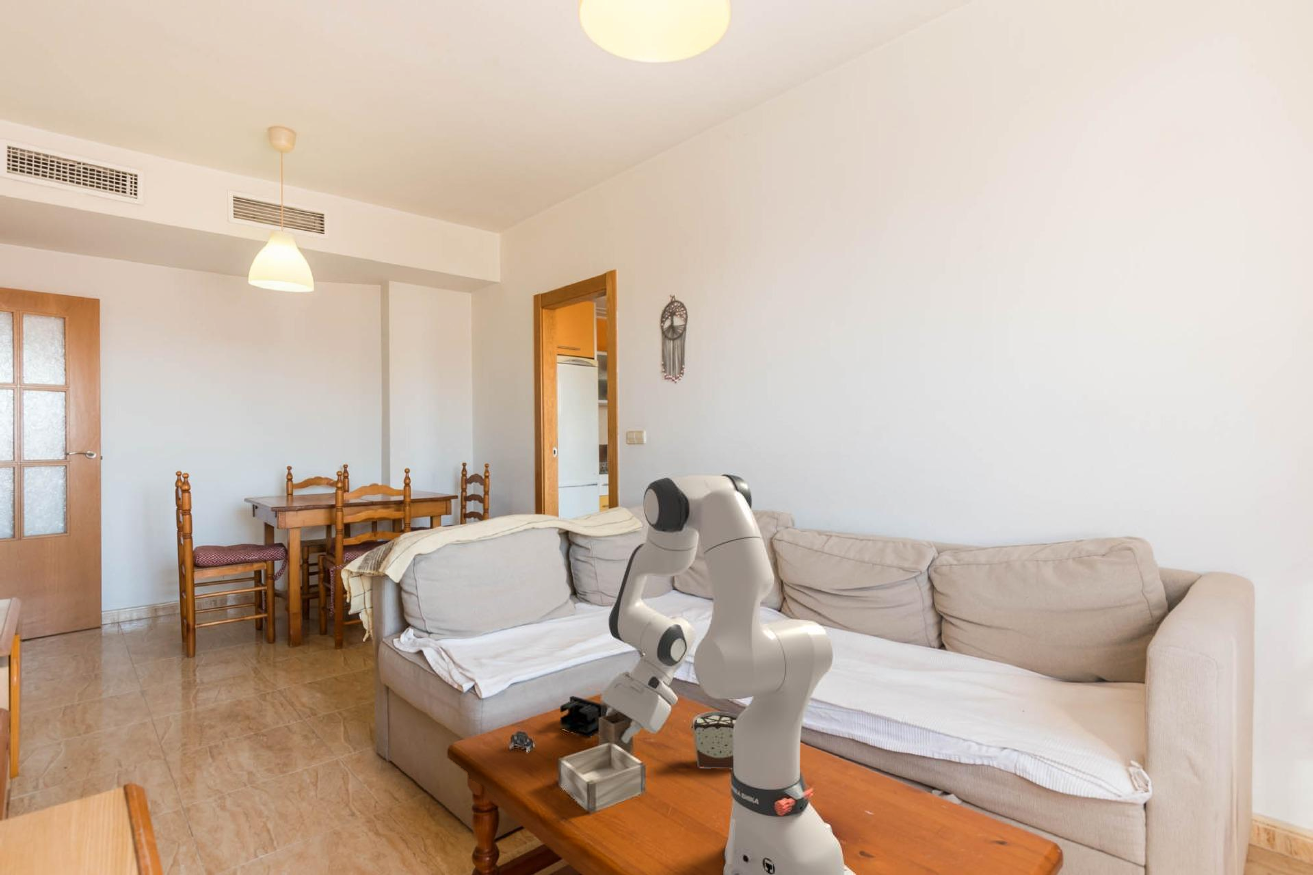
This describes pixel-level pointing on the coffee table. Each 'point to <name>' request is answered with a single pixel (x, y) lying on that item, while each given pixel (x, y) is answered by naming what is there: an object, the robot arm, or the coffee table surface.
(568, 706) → the end cap
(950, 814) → the coffee table surface
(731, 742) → the food container
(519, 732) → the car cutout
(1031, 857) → the coffee table surface
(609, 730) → the small crate
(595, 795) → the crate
